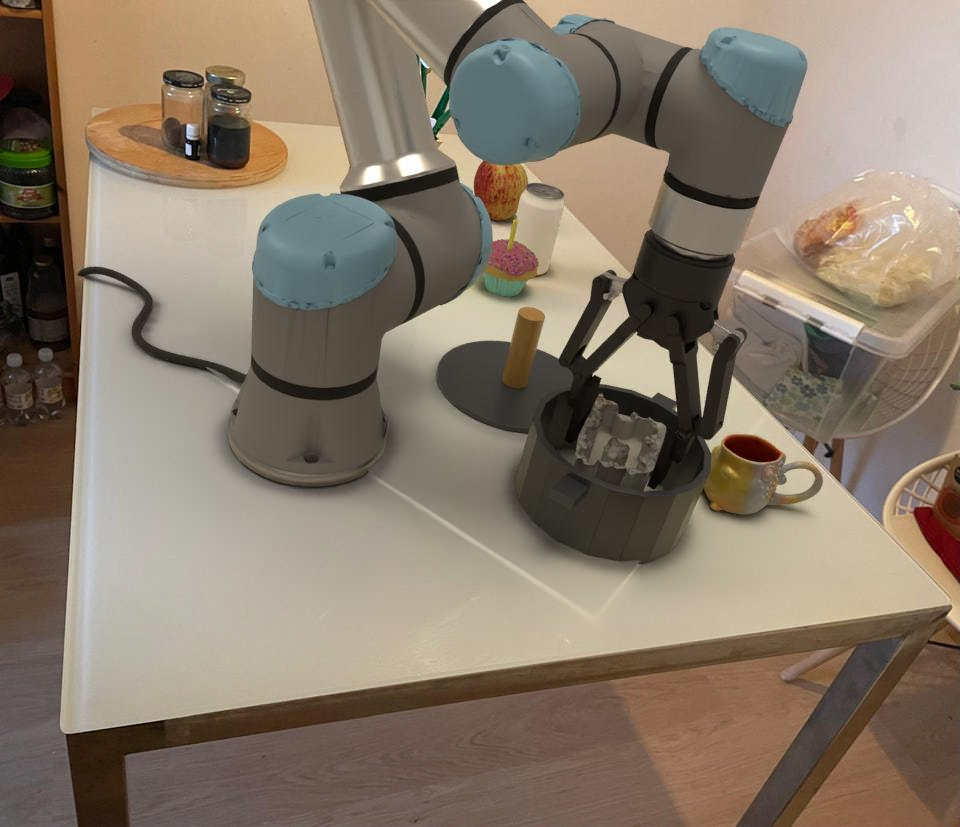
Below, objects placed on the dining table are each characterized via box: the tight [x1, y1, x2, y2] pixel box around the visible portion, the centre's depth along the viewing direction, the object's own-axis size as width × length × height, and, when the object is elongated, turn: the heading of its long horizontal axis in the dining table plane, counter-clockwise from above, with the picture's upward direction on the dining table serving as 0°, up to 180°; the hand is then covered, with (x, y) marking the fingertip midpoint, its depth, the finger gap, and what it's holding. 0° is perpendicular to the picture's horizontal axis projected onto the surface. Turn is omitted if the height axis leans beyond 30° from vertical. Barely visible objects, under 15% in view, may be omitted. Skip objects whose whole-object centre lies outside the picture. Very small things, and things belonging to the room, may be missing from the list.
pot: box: [514, 383, 712, 565], centre depth 82 cm, size 17×22×8 cm
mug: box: [703, 433, 824, 516], centre depth 87 cm, size 12×7×7 cm, turn 84°
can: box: [514, 182, 565, 277], centre depth 123 cm, size 6×6×12 cm
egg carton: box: [573, 393, 666, 491], centre depth 80 cm, size 11×8×4 cm
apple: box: [473, 160, 529, 222], centre depth 137 cm, size 9×9×10 cm
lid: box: [436, 306, 573, 434], centre depth 95 cm, size 18×18×10 cm
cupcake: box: [483, 214, 539, 297], centre depth 115 cm, size 9×8×12 cm
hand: (614, 458), depth 81 cm, fingers closed on egg carton, 8 cm apart
